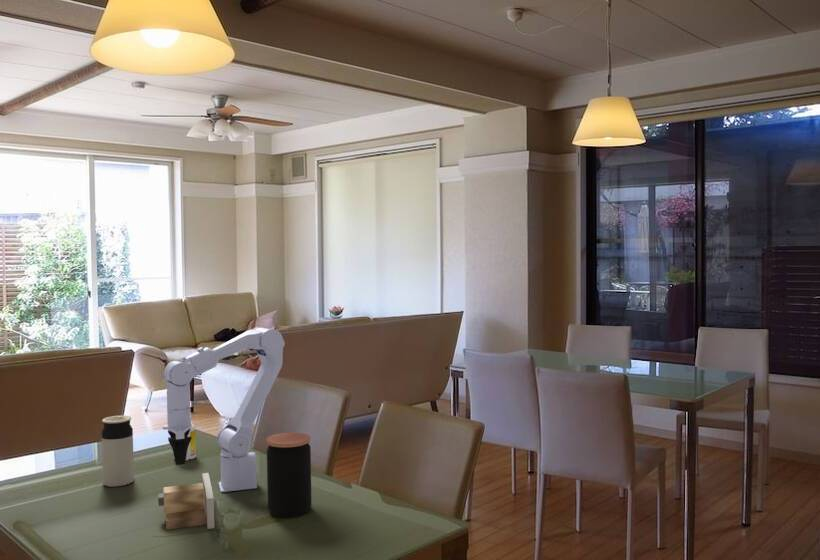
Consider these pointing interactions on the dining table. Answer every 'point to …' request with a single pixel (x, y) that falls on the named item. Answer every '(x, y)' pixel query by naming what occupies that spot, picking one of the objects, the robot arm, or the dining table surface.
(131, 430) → the travel mug
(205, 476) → the shelf board
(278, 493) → the coffee jar
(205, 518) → the brown rectangular panel
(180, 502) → the tan rectangular block
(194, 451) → the supplement bottle
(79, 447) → the dining table surface
